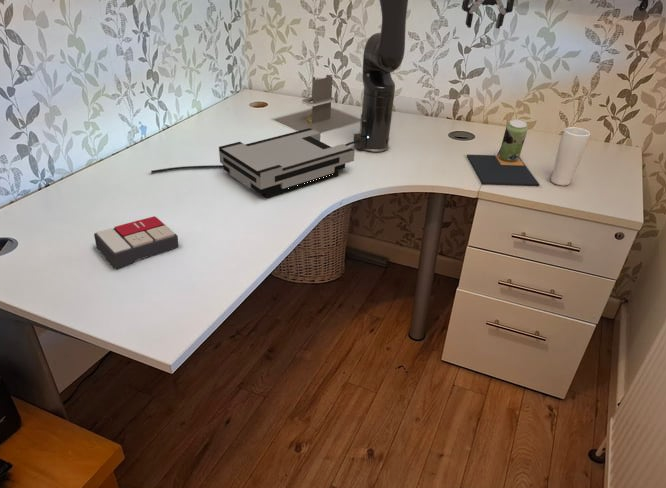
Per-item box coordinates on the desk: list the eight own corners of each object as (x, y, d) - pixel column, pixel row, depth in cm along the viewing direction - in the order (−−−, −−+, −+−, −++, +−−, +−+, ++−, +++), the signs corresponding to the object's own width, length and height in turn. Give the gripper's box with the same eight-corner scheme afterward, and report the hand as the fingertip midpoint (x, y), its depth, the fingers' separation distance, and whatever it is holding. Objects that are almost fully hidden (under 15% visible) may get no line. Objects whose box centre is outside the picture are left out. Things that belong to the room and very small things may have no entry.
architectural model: (273, 119, 189) (273, 76, 180) (325, 105, 202) (327, 65, 193) (309, 135, 177) (311, 90, 168) (362, 120, 190) (366, 78, 182)
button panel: (178, 232, 118) (112, 251, 110) (179, 249, 120) (115, 269, 112) (155, 213, 125) (92, 230, 116) (157, 229, 127) (95, 247, 119)
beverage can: (516, 155, 165) (526, 117, 158) (521, 165, 159) (532, 126, 152) (495, 154, 166) (505, 116, 158) (500, 163, 160) (510, 124, 152)
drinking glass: (571, 179, 154) (589, 128, 145) (573, 189, 149) (591, 137, 140) (547, 175, 155) (563, 125, 146) (547, 185, 150) (564, 133, 141)
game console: (352, 172, 154) (355, 145, 149) (261, 202, 138) (260, 173, 133) (309, 149, 167) (309, 124, 162) (221, 174, 151) (218, 146, 146)
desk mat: (482, 184, 150) (482, 181, 149) (466, 156, 166) (467, 153, 165) (538, 186, 150) (539, 183, 149) (518, 157, 166) (518, 155, 165)
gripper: (517, -37, 151) (503, 25, 160) (467, -38, 151) (456, 24, 161) (525, -34, 145) (510, 31, 154) (473, -35, 145) (461, 29, 155)
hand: (482, 27), depth 157 cm, fingers open, 8 cm apart
